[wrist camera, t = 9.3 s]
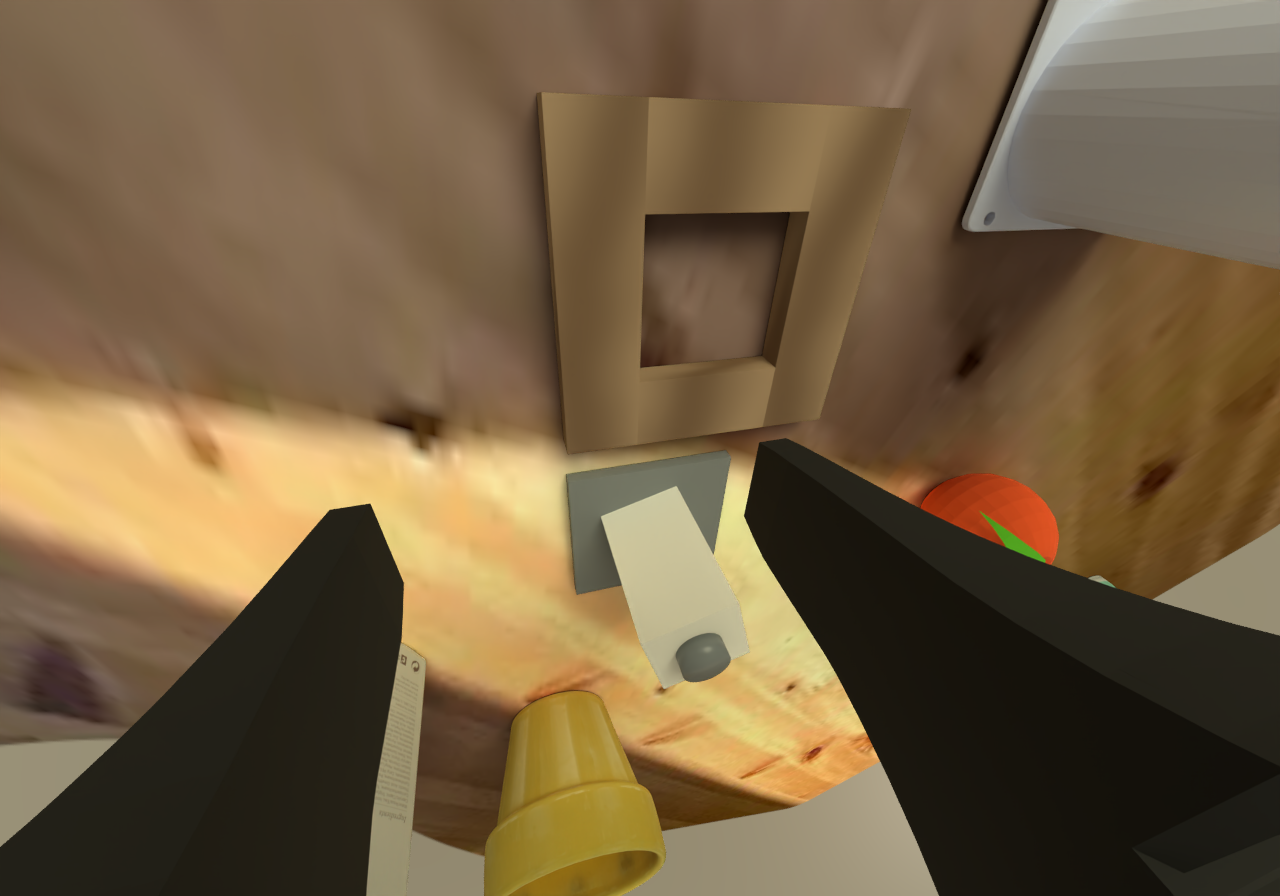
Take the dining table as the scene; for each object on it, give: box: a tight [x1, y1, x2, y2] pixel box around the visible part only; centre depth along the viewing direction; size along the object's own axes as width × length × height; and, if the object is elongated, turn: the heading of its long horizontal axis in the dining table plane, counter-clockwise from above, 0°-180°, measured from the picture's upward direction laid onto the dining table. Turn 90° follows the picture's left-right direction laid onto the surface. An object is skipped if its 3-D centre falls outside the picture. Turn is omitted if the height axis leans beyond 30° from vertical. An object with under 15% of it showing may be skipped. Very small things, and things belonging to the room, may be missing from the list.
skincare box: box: [366, 643, 426, 896], centre depth 20 cm, size 6×4×12 cm
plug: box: [601, 486, 750, 689], centre depth 21 cm, size 4×4×8 cm
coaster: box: [566, 450, 731, 595], centre depth 25 cm, size 8×8×1 cm
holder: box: [537, 92, 911, 454], centre depth 18 cm, size 12×12×1 cm
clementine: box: [920, 474, 1059, 565], centre depth 28 cm, size 8×7×7 cm
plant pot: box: [484, 691, 666, 896], centre depth 30 cm, size 10×10×10 cm
